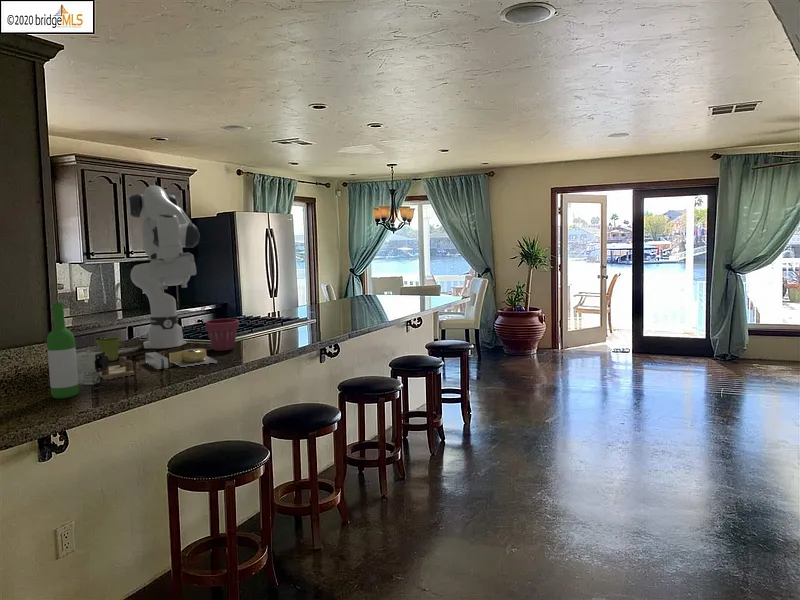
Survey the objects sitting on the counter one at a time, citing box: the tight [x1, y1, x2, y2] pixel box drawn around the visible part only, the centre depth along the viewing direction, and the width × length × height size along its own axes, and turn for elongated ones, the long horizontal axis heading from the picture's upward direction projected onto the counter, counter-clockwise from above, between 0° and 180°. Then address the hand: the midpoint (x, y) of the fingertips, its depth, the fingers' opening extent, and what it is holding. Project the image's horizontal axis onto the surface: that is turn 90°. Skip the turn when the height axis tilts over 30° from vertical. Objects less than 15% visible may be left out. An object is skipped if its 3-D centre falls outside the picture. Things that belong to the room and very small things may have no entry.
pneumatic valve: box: [76, 349, 110, 386], centre depth 203 cm, size 6×12×12 cm, turn 84°
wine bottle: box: [46, 301, 80, 400], centre depth 187 cm, size 8×8×30 cm
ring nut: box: [168, 348, 208, 364], centre depth 235 cm, size 14×10×4 cm
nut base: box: [171, 355, 218, 368], centre depth 236 cm, size 14×14×1 cm
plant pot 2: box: [204, 318, 240, 352], centre depth 265 cm, size 14×14×13 cm
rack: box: [95, 356, 135, 381], centre depth 219 cm, size 16×10×5 cm, turn 36°
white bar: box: [144, 351, 169, 370], centre depth 232 cm, size 18×4×4 cm, turn 36°
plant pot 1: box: [95, 337, 122, 362], centre depth 246 cm, size 9×9×9 cm
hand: (174, 288), depth 238 cm, fingers open, 8 cm apart
